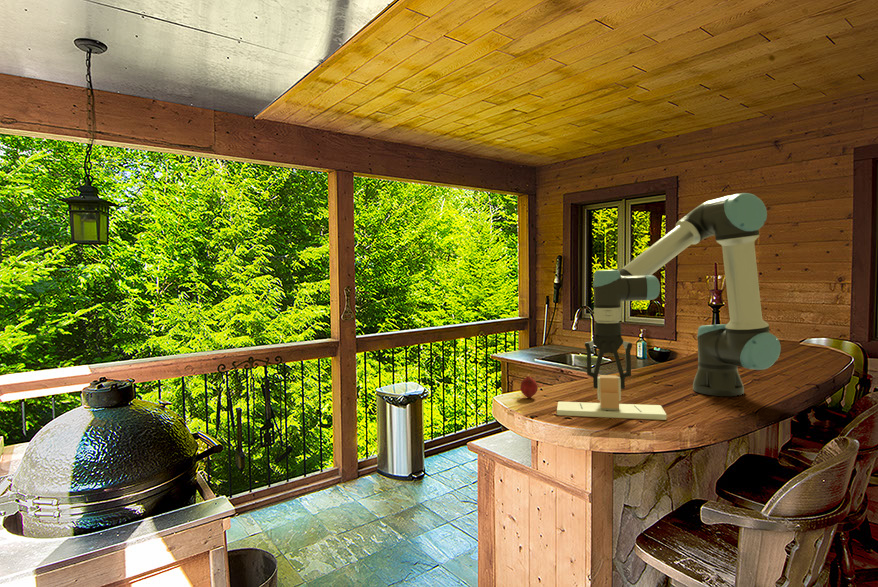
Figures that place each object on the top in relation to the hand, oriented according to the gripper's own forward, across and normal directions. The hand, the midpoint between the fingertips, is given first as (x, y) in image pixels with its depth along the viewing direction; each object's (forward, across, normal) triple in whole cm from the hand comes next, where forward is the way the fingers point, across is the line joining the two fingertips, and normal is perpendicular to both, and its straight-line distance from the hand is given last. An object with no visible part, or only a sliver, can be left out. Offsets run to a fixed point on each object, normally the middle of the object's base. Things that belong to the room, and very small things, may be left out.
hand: (609, 399), depth 146 cm
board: (+4, 0, 0) cm, 4 cm away
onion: (+4, -25, +14) cm, 29 cm away
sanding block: (+2, 0, 0) cm, 2 cm away
